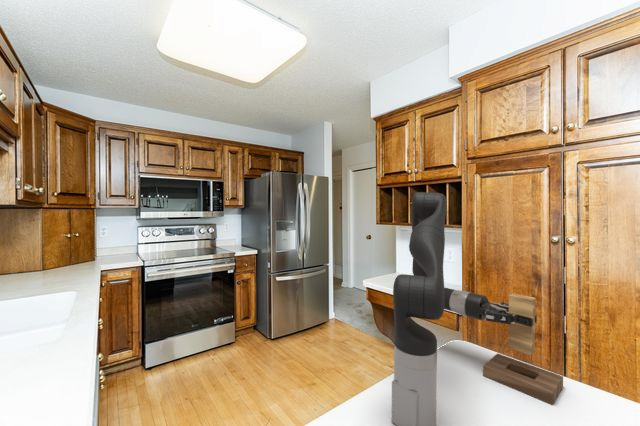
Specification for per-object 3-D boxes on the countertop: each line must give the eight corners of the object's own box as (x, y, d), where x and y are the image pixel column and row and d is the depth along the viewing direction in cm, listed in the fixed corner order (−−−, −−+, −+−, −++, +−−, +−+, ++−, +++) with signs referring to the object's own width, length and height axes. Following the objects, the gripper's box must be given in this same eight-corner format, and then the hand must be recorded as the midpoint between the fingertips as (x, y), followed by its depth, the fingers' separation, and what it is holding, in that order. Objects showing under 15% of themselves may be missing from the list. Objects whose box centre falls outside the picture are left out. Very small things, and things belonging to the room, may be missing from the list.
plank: (531, 355, 78) (532, 300, 77) (507, 347, 82) (509, 295, 82) (534, 351, 80) (535, 297, 79) (511, 344, 84) (512, 293, 83)
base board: (552, 405, 71) (552, 393, 71) (482, 375, 83) (483, 365, 83) (563, 387, 78) (563, 376, 78) (497, 362, 90) (497, 353, 90)
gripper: (458, 296, 87) (527, 313, 74) (477, 288, 96) (542, 301, 83) (458, 321, 87) (526, 342, 74) (477, 310, 96) (541, 327, 83)
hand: (534, 320), depth 78 cm, fingers closed on plank, 3 cm apart
